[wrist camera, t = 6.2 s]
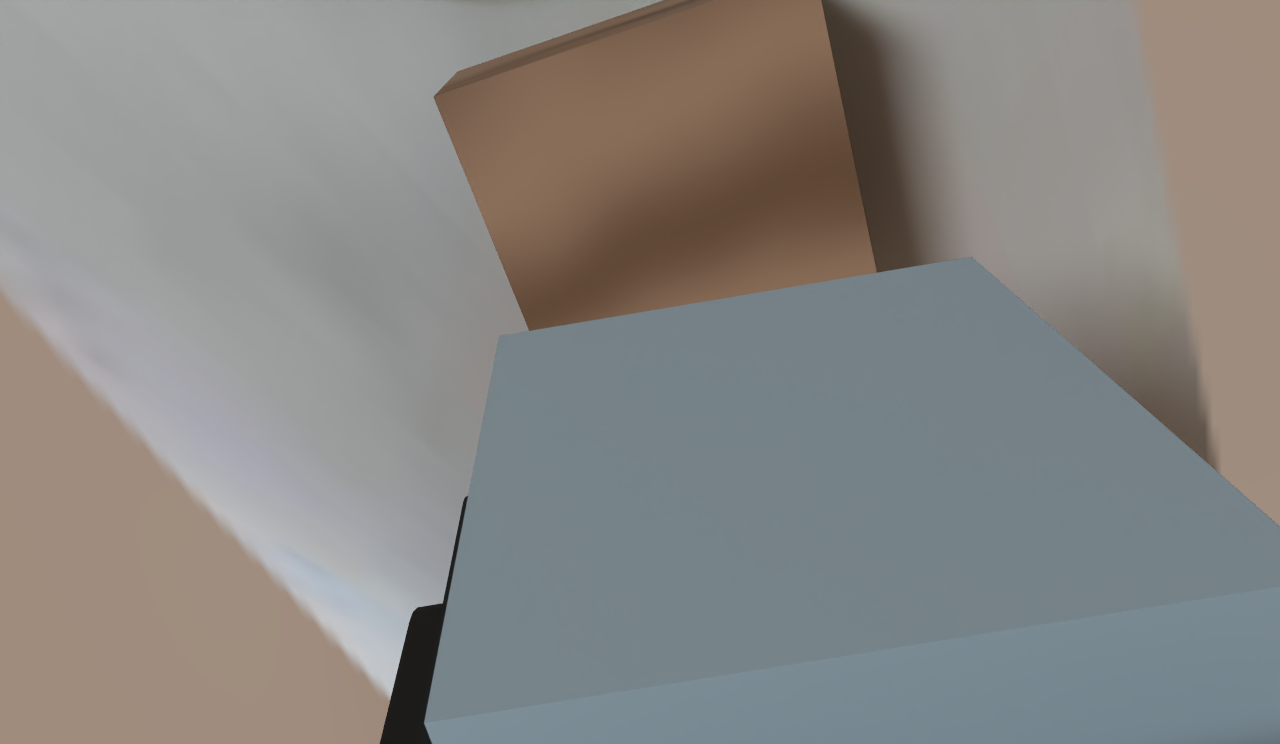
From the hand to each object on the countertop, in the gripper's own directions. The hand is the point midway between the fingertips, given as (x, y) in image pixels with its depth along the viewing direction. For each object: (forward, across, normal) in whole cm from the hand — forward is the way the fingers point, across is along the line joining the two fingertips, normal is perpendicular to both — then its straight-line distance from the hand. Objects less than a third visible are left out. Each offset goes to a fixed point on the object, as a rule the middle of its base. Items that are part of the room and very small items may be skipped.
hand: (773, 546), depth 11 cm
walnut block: (+19, 0, 0) cm, 19 cm away
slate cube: (+1, 0, 0) cm, 1 cm away
